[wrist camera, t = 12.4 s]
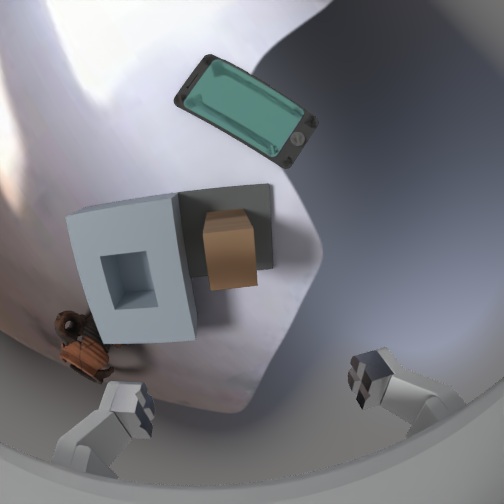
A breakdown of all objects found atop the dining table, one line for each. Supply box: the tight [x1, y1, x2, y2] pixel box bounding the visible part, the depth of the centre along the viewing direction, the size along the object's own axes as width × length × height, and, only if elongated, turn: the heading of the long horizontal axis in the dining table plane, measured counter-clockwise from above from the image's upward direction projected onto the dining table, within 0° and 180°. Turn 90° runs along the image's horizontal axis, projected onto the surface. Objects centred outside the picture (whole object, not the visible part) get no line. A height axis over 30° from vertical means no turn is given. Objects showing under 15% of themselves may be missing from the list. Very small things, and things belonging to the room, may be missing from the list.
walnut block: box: [203, 208, 258, 291], centre depth 26 cm, size 5×4×9 cm
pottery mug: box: [55, 311, 121, 384], centre depth 31 cm, size 12×10×8 cm
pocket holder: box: [66, 192, 198, 344], centre depth 29 cm, size 16×12×5 cm
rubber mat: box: [178, 184, 273, 277], centre depth 31 cm, size 10×10×1 cm
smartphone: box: [174, 54, 319, 169], centre depth 27 cm, size 7×1×15 cm
